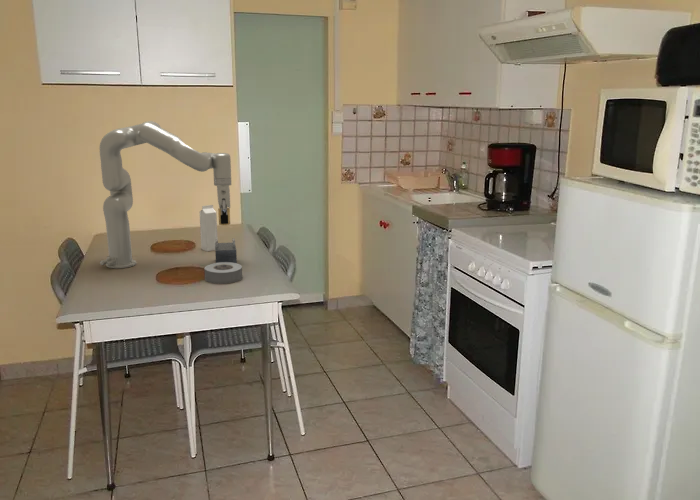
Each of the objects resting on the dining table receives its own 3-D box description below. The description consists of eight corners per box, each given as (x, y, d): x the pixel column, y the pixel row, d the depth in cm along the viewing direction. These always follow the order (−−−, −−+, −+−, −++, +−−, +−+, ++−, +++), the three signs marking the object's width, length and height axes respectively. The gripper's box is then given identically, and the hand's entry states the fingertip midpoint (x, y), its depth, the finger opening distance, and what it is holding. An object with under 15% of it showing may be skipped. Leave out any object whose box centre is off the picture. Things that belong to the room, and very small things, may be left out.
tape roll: (247, 281, 247) (247, 269, 246) (211, 286, 239) (210, 274, 238) (235, 271, 260) (234, 260, 258) (200, 276, 252) (199, 264, 251)
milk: (218, 249, 296) (216, 205, 291) (207, 251, 292) (205, 207, 286) (211, 247, 300) (210, 203, 295) (200, 249, 296) (199, 205, 291)
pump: (225, 225, 264) (224, 208, 262) (216, 224, 266) (215, 207, 264) (232, 223, 268) (231, 206, 266) (223, 222, 270) (223, 205, 268)
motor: (236, 267, 266) (236, 243, 263) (216, 268, 264) (215, 243, 261) (235, 257, 282) (234, 234, 279) (215, 258, 280) (214, 235, 277)
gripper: (232, 184, 255) (233, 226, 259) (230, 179, 271) (232, 218, 275) (214, 184, 253) (216, 226, 258) (213, 179, 269) (215, 219, 274)
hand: (224, 222), depth 267 cm, fingers closed on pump, 5 cm apart
